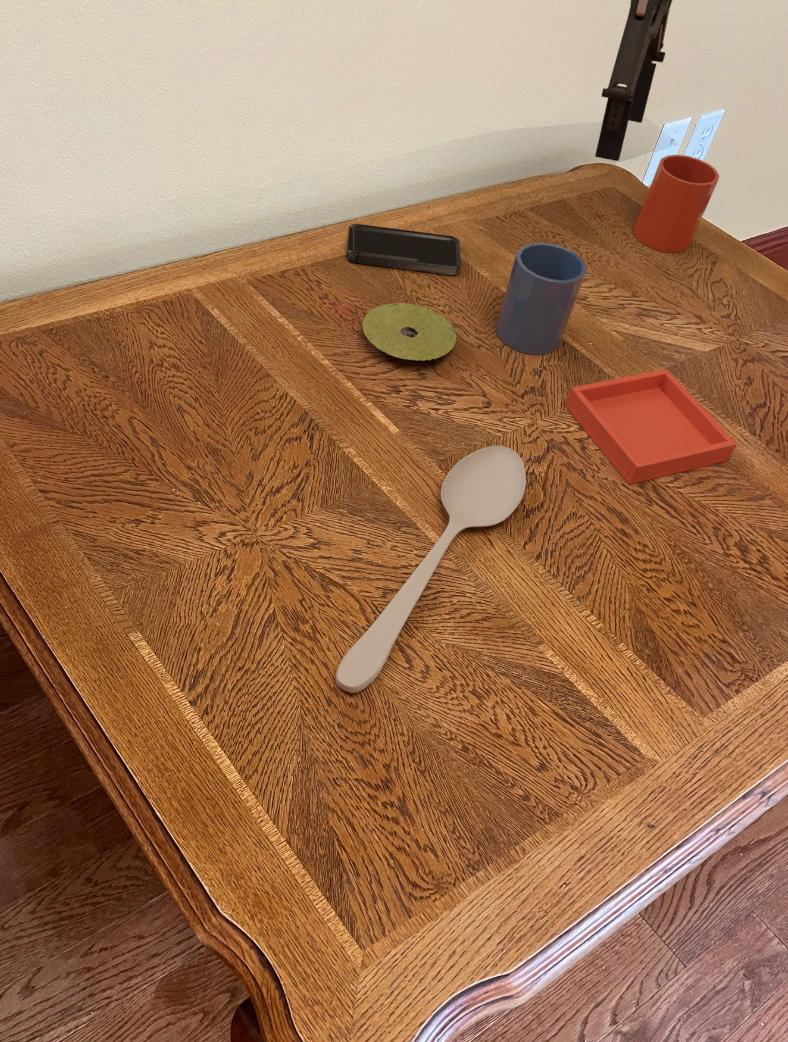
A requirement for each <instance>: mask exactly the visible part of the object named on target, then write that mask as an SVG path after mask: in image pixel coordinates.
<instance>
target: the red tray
mask: <svg viewBox="0 0 788 1042" xmlns="http://www.w3.org/2000/svg"><path fill="white" fill-rule="evenodd" d="M564 407H565V408H566V409H567V410H568V412H569V413H570V414H571V416H572V417H573V418H574V419H575V421H576V422H577V423H578V424H579V425H580V427H581V428H582V429H583V430H584V432H585V433H586V434H587V435H588V436H589V437H590V439H591V440H592V441H593V443H594V444H596V445H595V446H597V447H598V449H599V450H600V451H601V452H602V453H603V455H604V456H605V457H606V458H607V460H608V461H609V462H610V463H611V465H612V466H613V467H614V468H615V469H616V471H617V472H618V474H620V475H621V477H622V479H624V480H625V482H626V483H627V484H628V485H633V484H638V483H641V482H646V481H650V480H655V479H658V478H662V477H663V478H664V477H667V476H671V475H675V474H679V473H684V472H688V471H693V470H696V469H700V468H704V467H708V466H709V467H710V466H712V465H718V464H720V463H726V462H728V460H729V459H730V457H731V455H732V454H733V453H734V450H735V449H736V448H737V445H738V443H737V442H736V441H735V440H734V439H733V438H732V437H731V436H730V435H729V433H728V432H727V431H726V430H725V429H724V428H723V427H722V426H721V425H720V424H719V423H718V422H717V421H716V420H715V419H714V418H713V416H712V415H711V414H710V413H709V412H708V411H707V410H706V409H705V408H704V407H703V406H702V405H701V404H700V403H699V402H698V400H697V399H696V398H695V397H694V396H693V395H692V393H690V392H689V391H688V390H687V388H685V387H684V385H683V384H681V382H680V381H679V380H678V379H677V378H676V377H675V376H674V375H673V374H672V373H671V372H670V371H669V369H667V368H664V369H658V370H655V371H649V372H644V373H638V374H633V375H628V376H624V377H618V378H613V379H607V380H603V381H598V382H593V383H587V384H581V385H578V386H572V387H570V389H569V392H568V394H567V397H566V399H565V403H564Z"/></svg>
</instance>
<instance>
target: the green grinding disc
mask: <svg viewBox="0 0 788 1042" xmlns="http://www.w3.org/2000/svg"><path fill="white" fill-rule="evenodd" d="M362 330H363V334H364V336H365V337H366V338H367V340H368V341H369V342H370V343H371V344H372V345H373V346H374V347H376V349H378V350H380V351H381V352H383V353H386V354H387V355H389V356H392V357H394V358H398V359H402V360H407V361H408V360H409V361H417V362H419V361H424V362H425V361H432V359H433V360H436V359H439V358H441V357H444V356H445V355H447V354H448V353H449V352H450V351H451V350H452V349H453V348H454V347H455V345H456V342H457V334H456V330H455V329H454V326H453V325H452V324H451V323H450V321H449V320H448V319H447V318H445V317H444V316H443V315H442V314H441V313H438V312H437V311H435V310H434V309H430V308H428V307H426V306H422V305H419V304H418V305H417V304H413V303H406V302H405V303H404V302H399V303H397V302H396V303H386V304H383V305H379V306H377V307H374V308H372V309H371V310H370V311H369V312H367V314H366V315H365V316H364V318H363V321H362Z"/></svg>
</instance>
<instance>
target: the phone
mask: <svg viewBox="0 0 788 1042" xmlns="http://www.w3.org/2000/svg"><path fill="white" fill-rule="evenodd" d="M346 246H347V247H346V259H347V260H348V261H349V262H350V263H355V264H360V265H361V264H362V265H368V266H377V267H384V268H391V269H399V270H407V271H416V272H424V273H431V274H439V275H447V276H457V275H458V274H460V271H461V266H462V256H461V242H460V239H459V238H458V237H456V236H453V235H446V234H438V233H431V232H422V231H415V230H408V229H401V228H392V227H385V226H379V225H377V226H376V225H369V224H362V223H352V224H350V225H349V227H348V232H347V245H346Z"/></svg>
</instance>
